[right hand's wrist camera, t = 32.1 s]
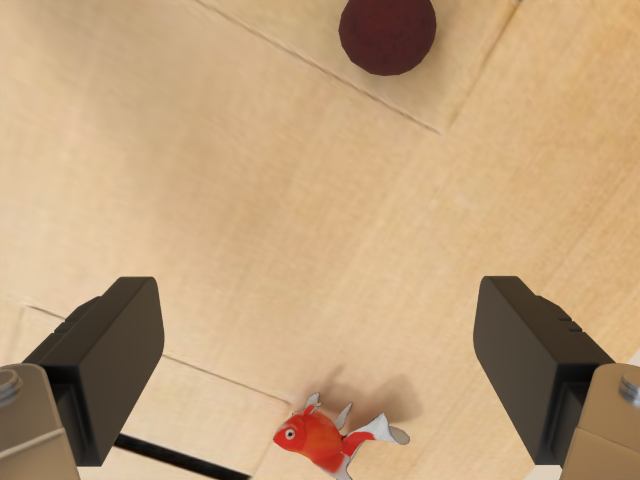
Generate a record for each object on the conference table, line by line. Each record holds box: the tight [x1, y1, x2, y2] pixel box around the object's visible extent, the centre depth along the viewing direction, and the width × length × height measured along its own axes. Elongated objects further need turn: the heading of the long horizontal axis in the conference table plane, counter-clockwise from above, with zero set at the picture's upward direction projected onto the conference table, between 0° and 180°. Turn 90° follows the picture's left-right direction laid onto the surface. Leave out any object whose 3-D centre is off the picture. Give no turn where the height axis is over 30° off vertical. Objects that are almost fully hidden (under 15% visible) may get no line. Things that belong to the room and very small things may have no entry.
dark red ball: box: [338, 0, 436, 76], centre depth 36 cm, size 7×8×7 cm
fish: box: [273, 393, 410, 480], centre depth 51 cm, size 11×16×10 cm
